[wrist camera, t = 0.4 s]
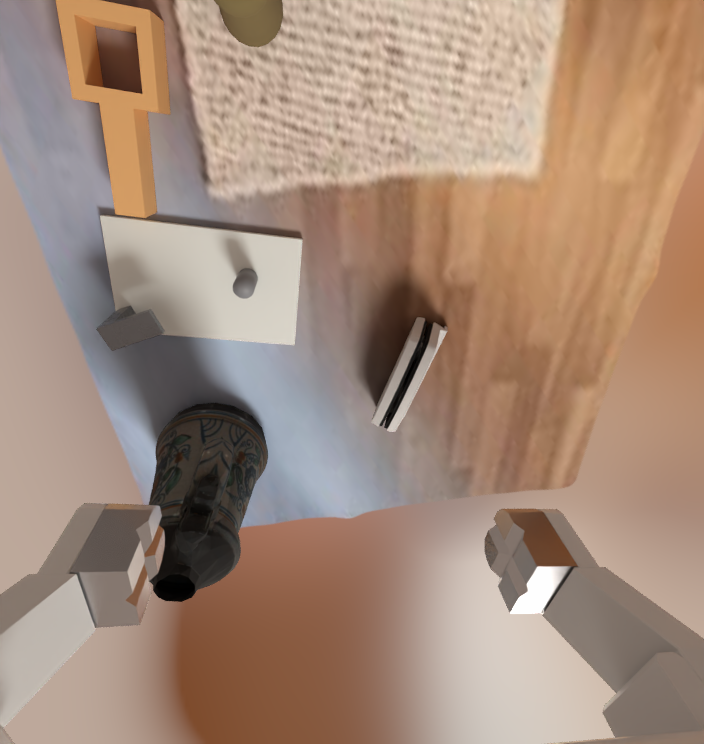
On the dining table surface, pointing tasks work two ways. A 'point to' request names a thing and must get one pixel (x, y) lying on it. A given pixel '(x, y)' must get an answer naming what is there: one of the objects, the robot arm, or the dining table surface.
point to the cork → (252, 19)
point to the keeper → (129, 327)
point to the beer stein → (204, 494)
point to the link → (119, 93)
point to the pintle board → (205, 278)
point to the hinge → (397, 386)
